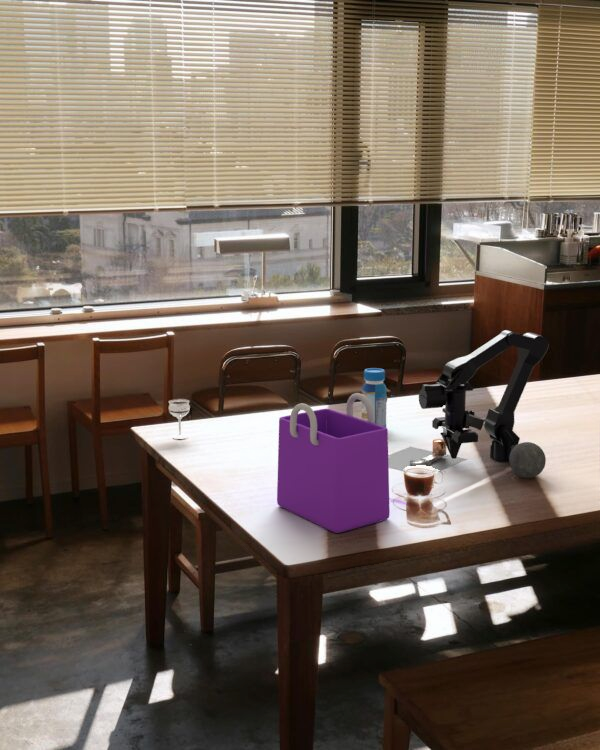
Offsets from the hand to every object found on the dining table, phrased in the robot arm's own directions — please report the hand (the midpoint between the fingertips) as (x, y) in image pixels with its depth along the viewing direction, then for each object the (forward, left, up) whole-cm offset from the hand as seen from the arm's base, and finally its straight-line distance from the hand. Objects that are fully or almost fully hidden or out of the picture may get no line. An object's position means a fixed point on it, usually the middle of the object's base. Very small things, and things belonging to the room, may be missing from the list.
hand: (453, 458), depth 295 cm
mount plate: (+9, +4, -3) cm, 11 cm away
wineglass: (+83, +30, -3) cm, 89 cm away
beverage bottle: (+41, -17, -3) cm, 45 cm away
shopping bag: (+3, +52, -3) cm, 52 cm away
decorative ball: (-21, -5, -3) cm, 21 cm away
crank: (+6, +3, -1) cm, 7 cm away
